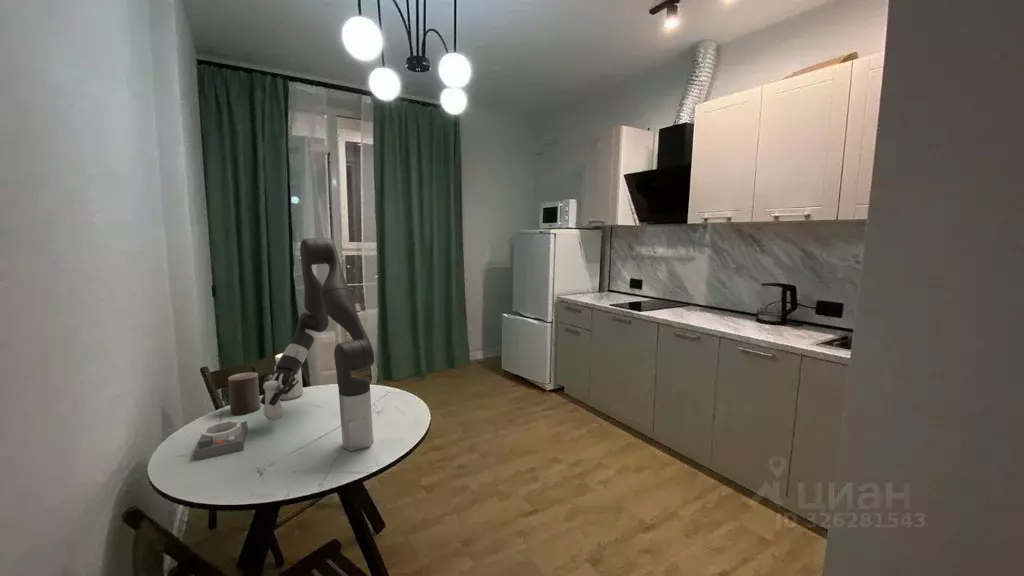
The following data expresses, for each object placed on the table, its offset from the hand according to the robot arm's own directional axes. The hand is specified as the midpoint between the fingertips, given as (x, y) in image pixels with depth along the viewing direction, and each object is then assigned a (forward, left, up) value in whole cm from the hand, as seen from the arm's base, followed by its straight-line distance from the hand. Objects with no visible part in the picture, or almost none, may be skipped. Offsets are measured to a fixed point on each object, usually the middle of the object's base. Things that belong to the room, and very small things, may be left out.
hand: (267, 404), depth 138 cm
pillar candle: (+26, +9, -10) cm, 29 cm away
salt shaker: (+1, -2, -6) cm, 6 cm away
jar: (+33, -6, -10) cm, 35 cm away
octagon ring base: (-2, +13, -10) cm, 16 cm away
